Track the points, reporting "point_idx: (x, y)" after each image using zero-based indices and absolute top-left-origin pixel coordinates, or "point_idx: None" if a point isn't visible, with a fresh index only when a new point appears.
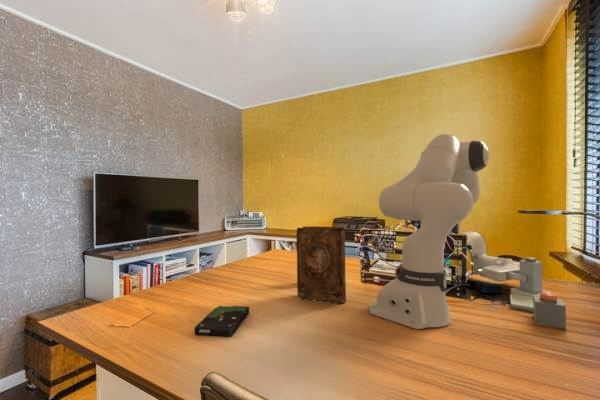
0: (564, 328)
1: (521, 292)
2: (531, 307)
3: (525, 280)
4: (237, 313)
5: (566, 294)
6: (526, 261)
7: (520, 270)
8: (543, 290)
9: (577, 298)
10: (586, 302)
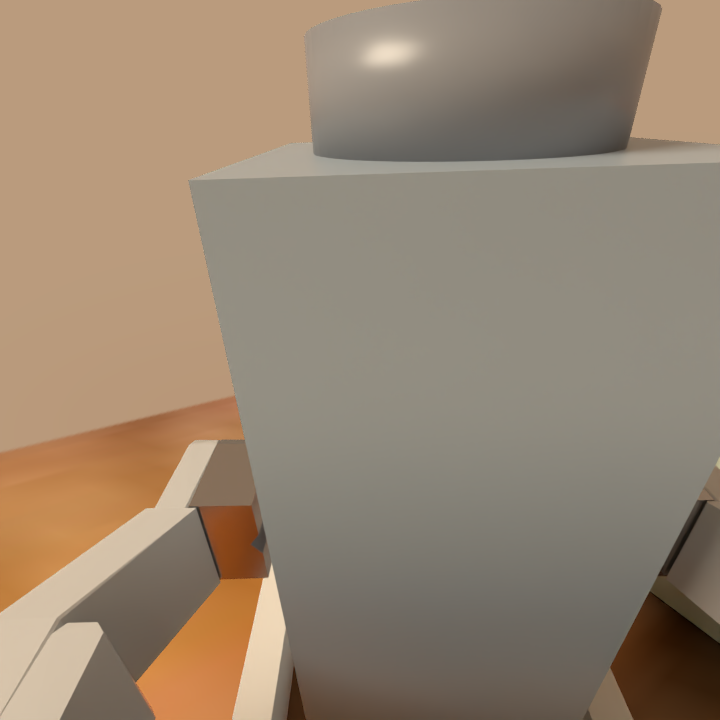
0: None
1: (604, 678)
2: None
3: None
4: None
5: (39, 553)
6: (634, 141)
7: (664, 502)
8: (271, 577)
9: (130, 473)
10: (198, 424)
